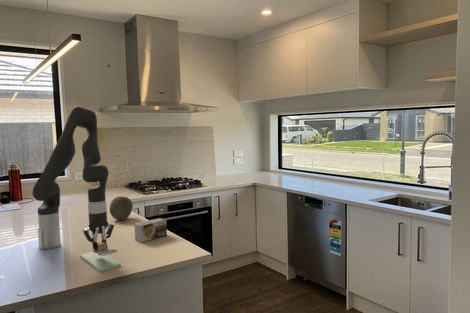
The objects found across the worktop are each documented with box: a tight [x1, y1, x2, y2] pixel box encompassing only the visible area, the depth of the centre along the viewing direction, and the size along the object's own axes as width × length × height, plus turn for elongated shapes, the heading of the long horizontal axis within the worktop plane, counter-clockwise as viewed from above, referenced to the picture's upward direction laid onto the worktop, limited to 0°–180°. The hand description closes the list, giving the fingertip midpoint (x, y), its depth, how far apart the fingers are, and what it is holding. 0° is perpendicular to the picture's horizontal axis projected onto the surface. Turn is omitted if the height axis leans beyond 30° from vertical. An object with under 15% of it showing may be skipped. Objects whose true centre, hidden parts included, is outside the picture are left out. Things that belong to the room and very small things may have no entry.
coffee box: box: [134, 217, 168, 244], centre depth 187 cm, size 9×6×16 cm
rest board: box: [79, 251, 122, 273], centre depth 155 cm, size 9×23×1 cm, turn 43°
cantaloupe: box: [109, 196, 133, 221], centre depth 224 cm, size 14×14×15 cm
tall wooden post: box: [92, 241, 118, 256], centre depth 152 cm, size 15×6×4 cm, turn 43°
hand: (99, 248), depth 155 cm, fingers closed on tall wooden post, 3 cm apart
